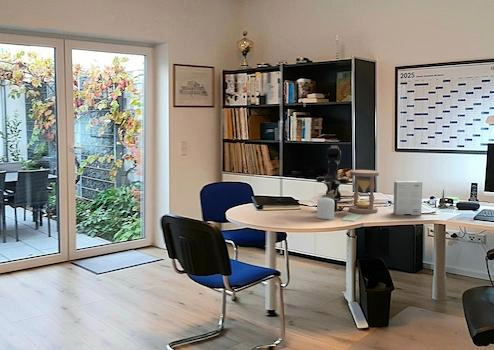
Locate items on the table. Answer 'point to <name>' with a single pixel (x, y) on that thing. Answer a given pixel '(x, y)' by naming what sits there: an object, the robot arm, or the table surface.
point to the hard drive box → (407, 197)
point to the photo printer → (325, 208)
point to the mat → (351, 217)
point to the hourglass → (364, 183)
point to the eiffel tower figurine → (443, 203)
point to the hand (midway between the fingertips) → (332, 194)
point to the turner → (330, 195)
